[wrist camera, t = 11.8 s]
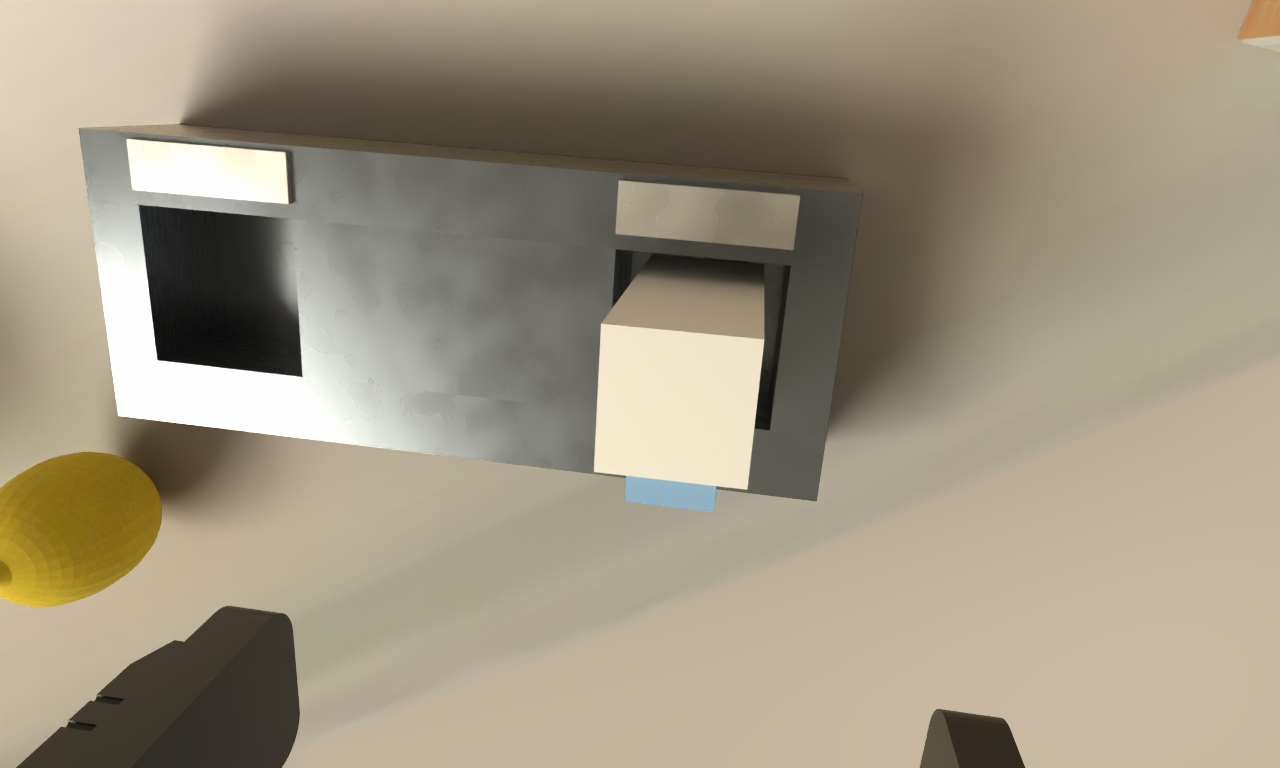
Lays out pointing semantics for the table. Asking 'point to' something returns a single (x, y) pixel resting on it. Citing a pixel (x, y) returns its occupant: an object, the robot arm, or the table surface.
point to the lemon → (74, 527)
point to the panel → (439, 288)
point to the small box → (1262, 25)
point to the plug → (681, 381)
